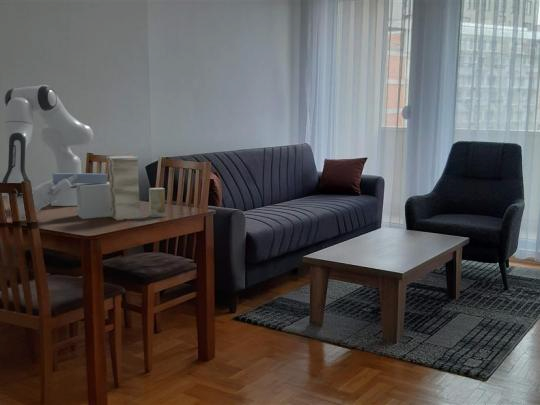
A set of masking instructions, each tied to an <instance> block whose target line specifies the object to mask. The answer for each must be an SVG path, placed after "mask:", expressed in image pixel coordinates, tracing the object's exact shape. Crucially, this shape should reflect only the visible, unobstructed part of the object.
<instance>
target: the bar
mask: <svg viewBox="0 0 540 405" xmlns="http://www.w3.org/2000/svg"><path fill="white" fill-rule="evenodd" d="M74 174H77V176H78V178H76V179H75V180H74V181H73V182H72V183H76V184H107V182H108V174H107V173H87V172H85V173H84V172H81V173H58V172H52V179H53V183H57V182H58V181H60V180H62V179H63V178H65V179H67V178H69V177H71V176H72V175H74ZM72 183H70V184H72Z"/></svg>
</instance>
